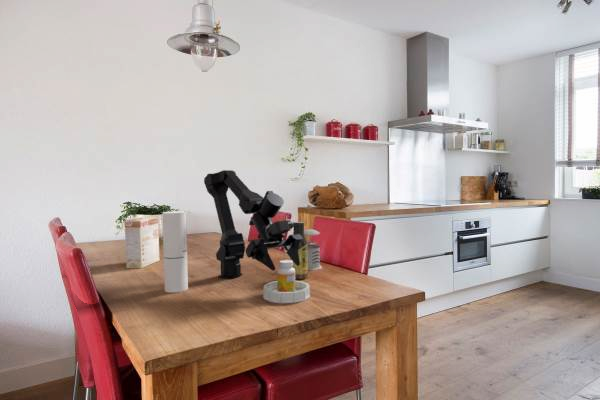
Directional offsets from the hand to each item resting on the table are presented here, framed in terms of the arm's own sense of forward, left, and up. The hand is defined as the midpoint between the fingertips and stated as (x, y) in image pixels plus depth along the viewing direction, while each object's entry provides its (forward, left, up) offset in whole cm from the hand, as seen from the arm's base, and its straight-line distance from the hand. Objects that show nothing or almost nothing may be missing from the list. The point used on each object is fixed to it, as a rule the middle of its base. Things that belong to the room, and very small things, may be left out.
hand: (286, 267), depth 115 cm
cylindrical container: (-36, -8, -9) cm, 38 cm away
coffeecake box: (-76, +15, -9) cm, 78 cm away
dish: (0, 0, -9) cm, 9 cm away
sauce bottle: (-6, +21, -9) cm, 24 cm away
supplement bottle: (0, 0, -8) cm, 8 cm away
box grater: (-9, +36, -9) cm, 38 cm away
